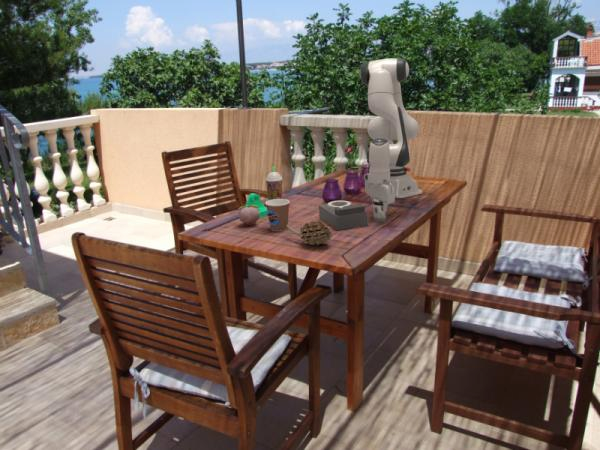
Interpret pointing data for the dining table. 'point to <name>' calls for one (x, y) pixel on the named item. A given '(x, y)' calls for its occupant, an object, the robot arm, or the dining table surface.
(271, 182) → the smoothie
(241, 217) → the decorative fruit
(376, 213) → the lens
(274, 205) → the coffee cup
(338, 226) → the camera body
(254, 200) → the camera mount
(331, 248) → the dining table surface
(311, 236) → the pine cone
